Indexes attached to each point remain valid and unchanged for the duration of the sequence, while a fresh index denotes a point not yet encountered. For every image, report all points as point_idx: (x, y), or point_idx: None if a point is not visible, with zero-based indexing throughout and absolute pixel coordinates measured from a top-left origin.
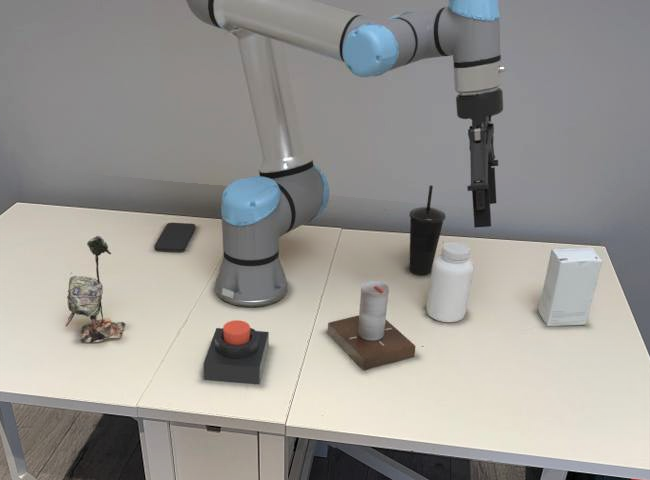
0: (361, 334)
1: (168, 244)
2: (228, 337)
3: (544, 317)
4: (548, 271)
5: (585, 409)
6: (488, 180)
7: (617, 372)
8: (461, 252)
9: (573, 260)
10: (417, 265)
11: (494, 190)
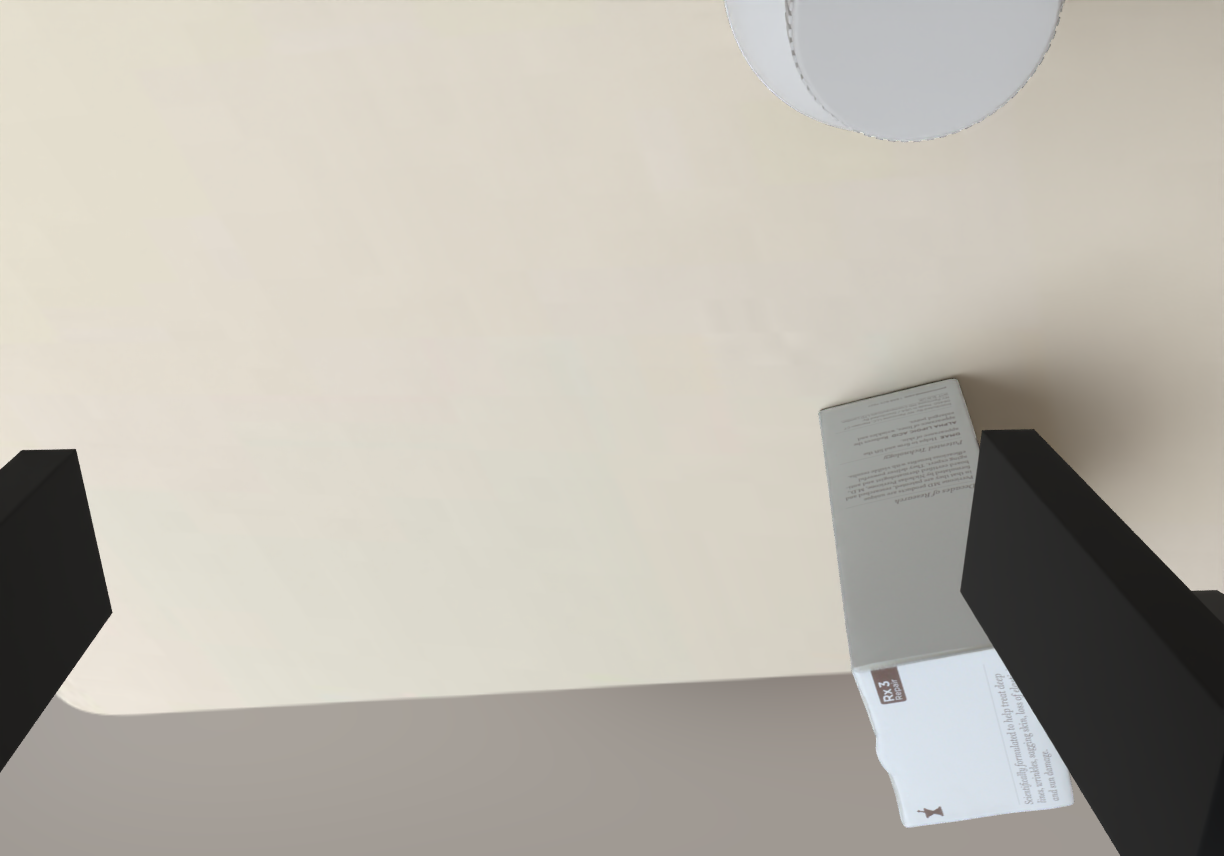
0: None
1: None
2: None
3: (867, 409)
4: None
5: (229, 518)
6: (1098, 712)
7: (528, 616)
8: (822, 73)
9: (880, 726)
10: None
11: (1022, 678)
